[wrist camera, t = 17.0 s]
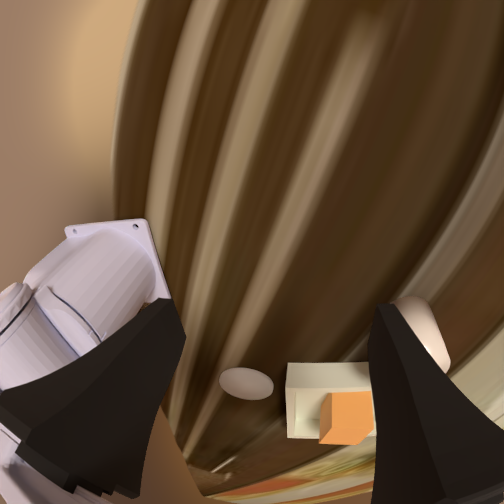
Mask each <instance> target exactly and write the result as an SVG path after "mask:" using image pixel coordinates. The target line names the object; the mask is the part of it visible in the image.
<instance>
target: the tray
mask: <svg viewBox="0 0 504 504" xmlns="http://www.w3.org/2000/svg"><path fill="white" fill-rule="evenodd" d="M362 391H371V397H372V408H373V421H374V429H373V430H372V431H371V432H370V433H369V434H368V435H367V436H376V421H375V412H374V404H373V396H372V389H371V382H370V375H369V362H349V363H288V368H287V377H286V386H285V392H286V412H287V435H288V438H319V434H320V412H321V405H322V403H323V402H324V400H325V398H326V396H327V395H328V393H337V392H362Z"/></svg>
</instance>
